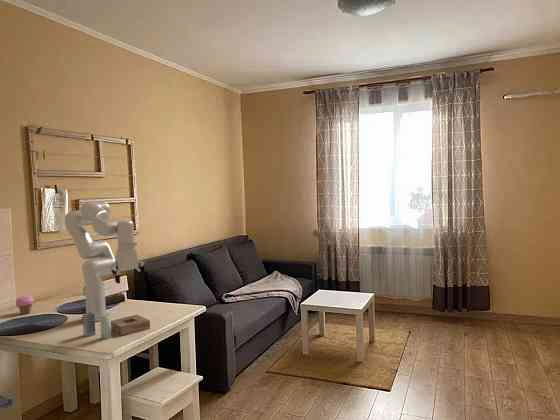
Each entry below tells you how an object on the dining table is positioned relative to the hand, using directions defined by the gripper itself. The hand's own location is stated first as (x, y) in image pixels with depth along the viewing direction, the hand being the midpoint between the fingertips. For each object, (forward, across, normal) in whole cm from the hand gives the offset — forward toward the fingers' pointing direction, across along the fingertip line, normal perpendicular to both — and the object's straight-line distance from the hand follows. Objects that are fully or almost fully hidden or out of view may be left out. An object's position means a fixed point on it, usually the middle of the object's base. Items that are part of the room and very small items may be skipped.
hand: (127, 281), depth 204 cm
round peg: (+23, +13, +4) cm, 27 cm away
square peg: (+23, +17, -6) cm, 30 cm away
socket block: (+23, 0, 0) cm, 23 cm away
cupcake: (+23, +29, -71) cm, 80 cm away
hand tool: (+24, -9, -52) cm, 58 cm away
